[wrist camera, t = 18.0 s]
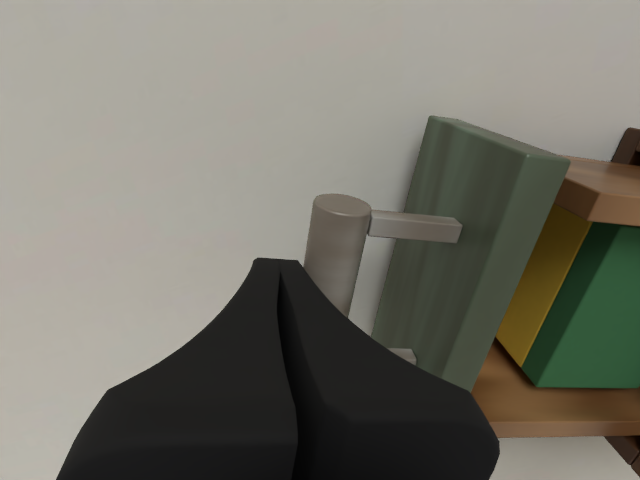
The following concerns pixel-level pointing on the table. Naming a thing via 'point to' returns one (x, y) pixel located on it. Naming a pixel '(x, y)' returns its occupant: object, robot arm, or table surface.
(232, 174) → the table surface
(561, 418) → the drawer
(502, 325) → the sponge
